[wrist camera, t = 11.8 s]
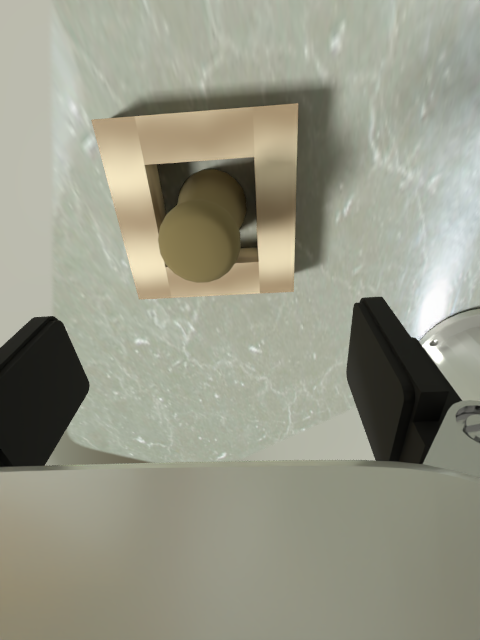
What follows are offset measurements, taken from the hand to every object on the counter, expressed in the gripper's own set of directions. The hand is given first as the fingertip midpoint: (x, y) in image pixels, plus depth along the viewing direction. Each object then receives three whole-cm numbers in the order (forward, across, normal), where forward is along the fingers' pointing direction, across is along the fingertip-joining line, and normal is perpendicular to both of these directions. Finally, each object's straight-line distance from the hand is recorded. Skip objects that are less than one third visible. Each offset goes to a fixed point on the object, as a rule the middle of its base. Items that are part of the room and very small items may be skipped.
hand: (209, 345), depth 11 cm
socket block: (+21, +2, 0) cm, 21 cm away
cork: (+21, +2, 0) cm, 21 cm away
